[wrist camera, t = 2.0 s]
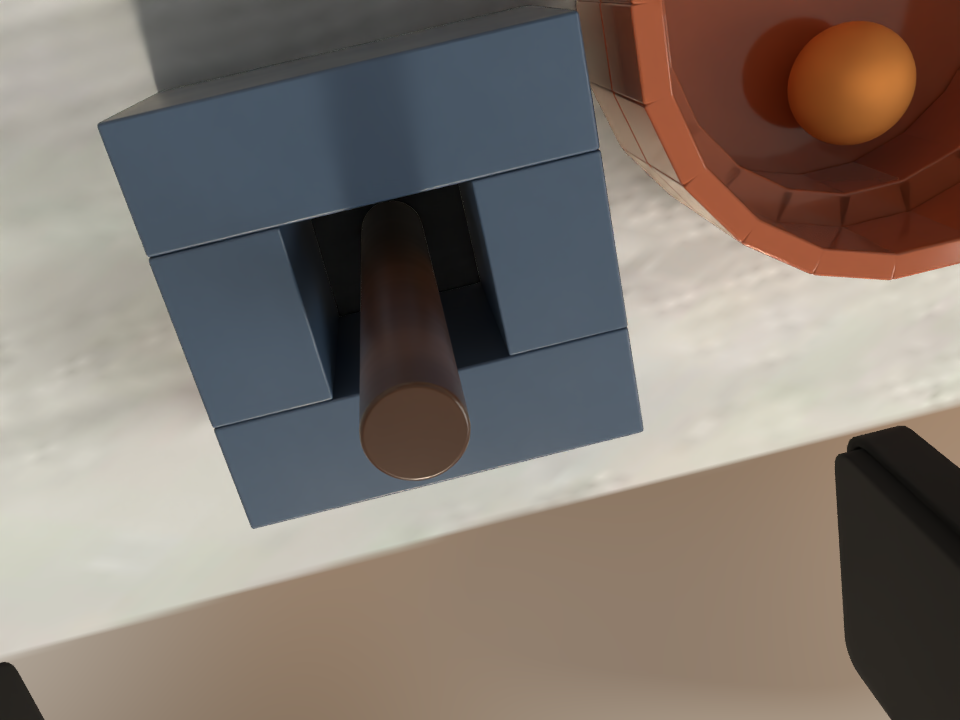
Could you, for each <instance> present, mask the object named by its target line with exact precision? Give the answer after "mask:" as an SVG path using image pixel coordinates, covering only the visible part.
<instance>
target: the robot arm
mask: <svg viewBox="0 0 960 720" xmlns="http://www.w3.org/2000/svg"><path fill="white" fill-rule="evenodd" d="M835 480H836V496H837V514H838V530H839V547H840V561H841V562H840V563H841V581H842V596H843V613H844V631H845V641H846V646H847V650H848V653H849V656H850V659H851V661H852V663H853V665H854V667H855V669H856V670H857V672H858V674H859V675H860V677H861V678H862V679H863V681H864V682H865V684H866V685H867V686H868V688H869V689H870V691H871V692H872V693H873V695H874V696H875V698H876V699H877V700H878V702H879V703H880V704H881V706H882V707H883V709H884V710H885V712H886V713H887V714H888V716H889V717H890V718H891V720H960V468H959V467H957V466H956V465H955V464H953V463H952V462H951V461H950V460H949V459H947V458H946V457H945V456H944V455H942V454H941V453H940V452H938V451H937V450H936V449H935V448H934V447H932V446H931V445H930V444H928V442H926V441H925V440H924V439H923V438H921V437H920V436H919V435H918V434H916V433H915V432H914V431H913V430H911V429H909V428H908V427H906V426H896V427H893V428H888V429H884V430H880V431H876V432H872V433H869V434H865V435H860V436H857V437H853V438H852V439H851V440H850V441H849V443H848V446H847V452H846V453H842V454H839V455H838V456H837V457H836V460H835ZM0 720H44V718H43V716H42V715H41V713H40V711H39V709H38V707H37V705H36V704H35V702H34V700H33V698H32V697H31V695H30V693H29V691H28V689H27V687H26V686H25V684H24V682H23V680H22V678H21V676H20V675H19V673H18V671H17V670H16V668H15V667H14V666H13V665H12V664H10V663H7V662H2V663H0Z"/></svg>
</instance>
